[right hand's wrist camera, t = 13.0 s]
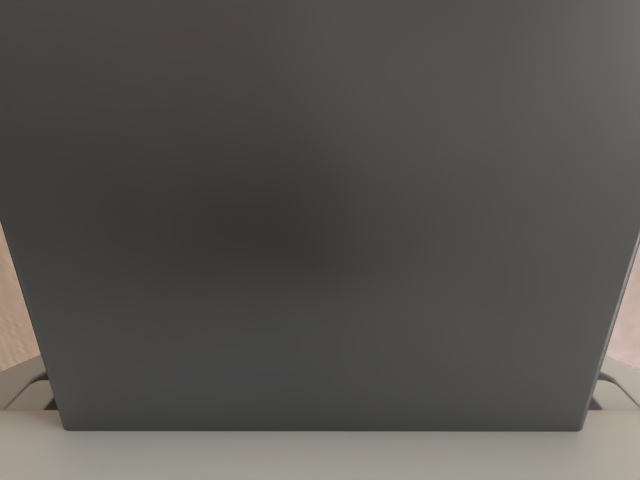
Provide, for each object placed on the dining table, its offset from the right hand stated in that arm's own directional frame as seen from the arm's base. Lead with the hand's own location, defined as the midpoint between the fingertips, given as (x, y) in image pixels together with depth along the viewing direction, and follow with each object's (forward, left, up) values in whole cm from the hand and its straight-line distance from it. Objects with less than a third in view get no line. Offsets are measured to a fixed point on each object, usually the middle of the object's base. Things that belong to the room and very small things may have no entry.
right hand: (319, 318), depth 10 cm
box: (+7, -5, -4) cm, 9 cm away
